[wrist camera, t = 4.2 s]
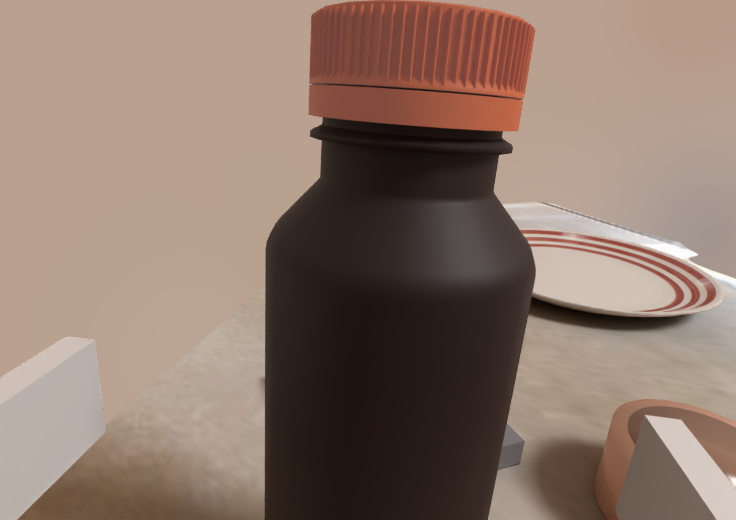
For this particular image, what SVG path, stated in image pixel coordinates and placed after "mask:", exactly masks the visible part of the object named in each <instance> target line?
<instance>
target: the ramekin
mask: <svg viewBox="0 0 736 520" xmlns="http://www.w3.org/2000/svg"><path fill="white" fill-rule="evenodd" d="M644 415H650V416H657V417H664V418H672V419H679V420H682V421H683V423H684V424H685V425H686V426H687V428H688V429H689V430H690V432H691V433H692V434H693V435H694V437H695V438H696V439H697V440H698V442H699V443H700V444H701V445H702V447H703V448H704V449H705V450H706V452H707V453H708V454H709V455H710V457H711V458H712V459H713V461H714V462H715V463H716V464H717V466H718V467H719V468H720V469H721V471H722V472H723V473H724V474H725V476H726V477H727V478H728V479H729V481H730V482H731V483H732V485H733V486H734V487H735V488H736V422H735V421H733V420H730V419H728V418H726V417H723V416H721V415H718V414H716V413H713V412H710V411H707V410H704V409H701V408H698V407H694V406H691V405H687V404H683V403H678V402H673V401H666V400H655V399H645V400H636V401H631V402H628V403H625V404H623V405H621V406H620V407H619V408H618V409H617V410H616V411H615V413H614V415H613V418H612V421H611V425H610V429H609V432H608V436H607V439H606V443H605V446H604V450H603V453H602V457H601V461H600V464H599V468H598V471H597V475H596V478H595V483H594V490H595V496H596V499H597V502H598V505H599V507H600V509H601V511H602V513H603V514H604V516H605V518H606V519H607V520H619V519H618V517H617V514H616V512H615V510H616V507H617V504H618V501H619V497H620V494H621V491H622V487H623V484H624V481H625V478H626V474H627V471H628V468H629V464H630V461H631V458H632V455H633V451H634V448H635V445H636V442H637V438H638V435H639V432H640V428H641V425H642V422H643V419H644Z"/></svg>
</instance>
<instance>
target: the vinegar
mask: <svg viewBox="0 0 736 520" xmlns="http://www.w3.org/2000/svg"><path fill="white" fill-rule="evenodd" d="M534 34H535V29H534V27H532V26H531V24H529V23H528V22H526V21H525V20H523V19H522V18H520V17H517V16H513V15H510V14H507V13H503V12H500V11H497V10H491V9H484V8H479V7H473V6H467V5H461V4H449V3H438V2H427V1H404V0H403V1H402V0H374V1H355V2H354V1H353V2H345V3H340V4H334V5H328V6H325V7H323V8H322V9H320V10H318V11H316V13H314V14H312V16H311V49H310V83H311V84H312V85H310V86H309V87H310V89H309V115H313V116H319V117H323V123H322V125H320V126H318V127H315V128H313V129H312V130H311V131H310V137H313V138H316V139H319V140H322V149H321V175H320V178H319V179H318V181H316V182H315V183H314V184H313V186H311V187H310V188H309V189H308V190H307V192H305V193H304V194H303V196H301V197H300V199H298V200H297V201H296V202H295V203H294V204H293V205H292V207H290V209H289V210H288V211H286V212H285V213H284V214H283V215H282V216H281V218H280V219H279V220H278V221H277V223H276V224H275V226H274V228H273V230H272V231H271V233H270V236H269V238H268V240H267V244H266V310H265V520H488V516H489V511H490V506H491V501H492V495H493V490H494V485H495V480H496V475H497V470H498V465H499V460H500V455H501V450H502V445H503V440H504V435H505V430H506V424H507V419H508V414H509V409H510V404H511V399H512V394H513V389H514V384H515V379H516V374H517V369H518V364H519V359H520V353H521V348H522V343H523V338H524V333H525V328H526V323H527V318H528V313H529V308H530V303H531V298H532V293H533V288H534V282H535V277H536V267H535V262H534V257H533V253H532V249H531V247H530V245H529V243H528V241H527V240H526V238H525V237H524V235H523V234H522V233H521V231H520V230H519V228H518V227H517V225H516V224H515V223H514V221H513V220H512V218H511V217H510V215H509V214H508V213H507V211H506V210H505V208H504V207H503V205H502V204H501V203H500V201H499V200H498V198H497V197H496V195H495V194H494V191H493V190H494V183H495V177H496V171H497V164H498V157H499V155H501V154H509V153H512V149H513V147H512V145H511V144H510V143H508V142H506V141H505V140H503V138H502V132H503V131H518V128H519V122H520V116H521V110H522V104H523V101H521V100H522V99H523V98H524V94H525V88H526V82H527V76H528V71H529V65H530V59H531V53H532V47H533V41H534Z"/></svg>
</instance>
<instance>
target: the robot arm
mask: <svg viewBox="0 0 736 520" xmlns="http://www.w3.org/2000/svg"><path fill="white" fill-rule="evenodd" d="M105 432H106V424H105V416H104V408H103V401H102V393H101V385H100V377H99V369H98V361H97V353H96V345H95V340H91V339H83V338H76V337H69V336H66V337H65V338H63V339H61V340H60V341H58V342H56V343H55V344H53V345H52V346H50V347H48V348H47V349H45V350H44V351H42V352H40V353H39V354H37V355H36V356H34V357H32V358H31V359H29V360H28V361H26V362H24V363H23V364H21V365H19V366H18V367H16V368H15V369H13V370H11V371H10V372H8V373H7V374H5V375H3V376H2V377H1V378H0V520H17V519H18V518H19V517H20V516H21V515H22V514H23V513H24V512H25V511H26V510H27V509H28V508H29V507H30V506H31V505H32V504H33V503H34V502H35V501H36V500H37V499H39V498H40V497H41V496H42V495H43V494H44V493H45V492H46V491H47V490H48V489H49V488H50V487H51V486H52V485H53V484H54V483H55V482H56V481H57V480H58V479H59V478H60V477H61V476H62V475H63V474H64V473H65V472H66V471H67V470H68V469H69V468H70V467H71V466H72V465H73V464H74V463H75V462H76V461H77V460H78V459H79V458H80V457H81V456H82V455H83V454H84V453H85V452H86V451H87V450H88V449H89V448H90V447H91V446H92V445H93V444H94V443H95V442H96V441H97V440H98V439H99V438H100V437H101V436H102V435H103V434H104V433H105ZM615 512H616V514H617V517H618V519H619V520H736V488H735V487H734V486H733V485H732V483H731V482H730V481H729V479H728V478H727V477H726V476H725V474H724V473H723V472H722V471H721V469H720V468H719V467H718V466H717V464H716V463H715V462H714V461H713V459H712V458H711V457H710V455H709V454H708V453H707V452H706V450H705V449H704V448H703V447H702V445H701V444H700V443H699V442H698V440H697V439H696V438H695V437H694V435H693V434H692V433H691V432H690V430H689V429H688V428H687V426H686V425H685V424H684V423H683V421H682V420H679V419H672V418H664V417H657V416H650V415H644V419H643V422H642V425H641V428H640V432H639V435H638V438H637V442H636V445H635V448H634V451H633V455H632V458H631V461H630V464H629V468H628V471H627V474H626V478H625V481H624V484H623V487H622V491H621V494H620V497H619V501H618V504H617V507H616V510H615Z"/></svg>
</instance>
